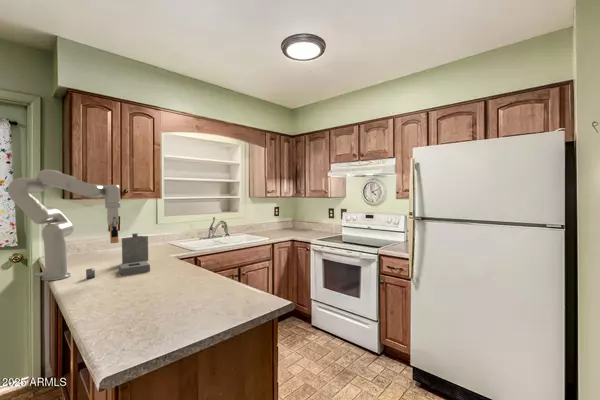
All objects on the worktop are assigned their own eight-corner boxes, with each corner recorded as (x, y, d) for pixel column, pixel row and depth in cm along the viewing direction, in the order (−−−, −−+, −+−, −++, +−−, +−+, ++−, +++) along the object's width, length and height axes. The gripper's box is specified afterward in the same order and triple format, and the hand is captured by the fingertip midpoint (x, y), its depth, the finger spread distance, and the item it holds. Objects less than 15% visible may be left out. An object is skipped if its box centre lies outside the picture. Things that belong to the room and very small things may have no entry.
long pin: (110, 243, 169) (109, 223, 168) (110, 242, 172) (109, 222, 171) (118, 242, 171) (118, 222, 171) (118, 241, 174) (117, 221, 174)
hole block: (121, 275, 169) (121, 268, 169) (118, 271, 179) (118, 264, 178) (150, 270, 179) (149, 264, 179) (145, 267, 188) (145, 260, 188)
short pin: (86, 279, 162) (86, 270, 162) (86, 277, 165) (85, 269, 165) (95, 278, 164) (94, 269, 164) (94, 276, 168) (94, 268, 167)
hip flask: (122, 264, 195) (121, 234, 194) (121, 263, 198) (121, 234, 197) (148, 260, 204) (148, 232, 204) (147, 259, 208) (147, 232, 207)
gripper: (103, 205, 175) (105, 235, 176) (106, 206, 162) (108, 239, 162) (118, 204, 179) (119, 234, 180) (122, 205, 166) (123, 237, 167)
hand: (114, 236), depth 171 cm, fingers closed on long pin, 4 cm apart
